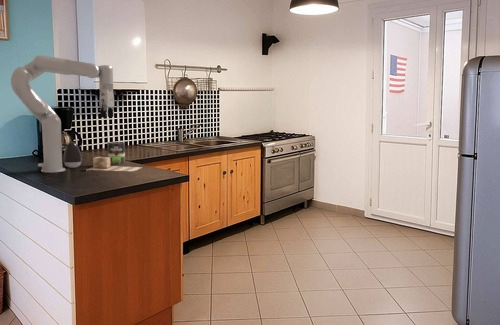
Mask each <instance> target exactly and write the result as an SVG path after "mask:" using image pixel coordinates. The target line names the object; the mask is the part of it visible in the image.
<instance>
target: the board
mask: <svg viewBox="0 0 500 325" xmlns="http://www.w3.org/2000/svg"><path fill="white" fill-rule="evenodd" d="M143 167H144V166H143ZM143 167H141V166H140V167H139V166H119V165H117V166H116V165H110V168H108V169H98V168H93V167H90V168H87V169H85V172H88V171H115V172H136V171H138V170H141V169H143Z"/></svg>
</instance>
